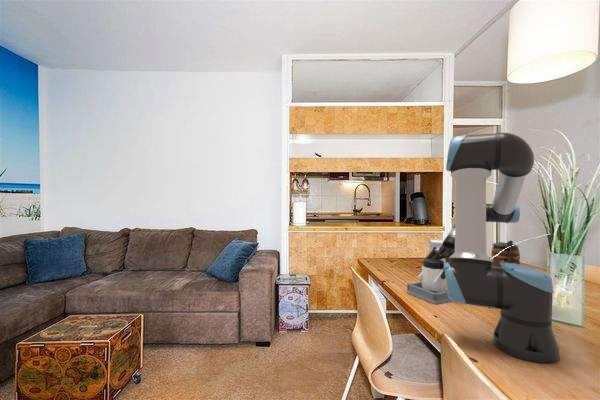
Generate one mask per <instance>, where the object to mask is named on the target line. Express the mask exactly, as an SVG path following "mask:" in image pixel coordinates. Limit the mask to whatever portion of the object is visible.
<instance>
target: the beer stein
mask: <svg viewBox="0 0 600 400" xmlns="http://www.w3.org/2000/svg"><path fill="white" fill-rule="evenodd" d="M491 245H492V249H491V254H490V255H491V258H492V257H493V256H495V255H496V254H498V253H499V252H500V251H502V250H503V249H505V248H507V247H509V246H511V247H509V248H507V249H505V250H504V251H502V252H501V253H500V254H499V255H498V256H496V257H494V258H493V259H491V258H490V259H491V260H492V267H494V268H501V266H502V264H503V263H514V264H520V263H521V262H520V261H521V260H520V259H521V255H520V250H519V246H518V245H517V244H514V241H513V240H508V241H507V242H502V241H500V242H494V243H492V244H491ZM512 245H514V246H512ZM520 265H521V264H520Z"/></svg>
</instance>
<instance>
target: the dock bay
mask: <svg viewBox="0 0 600 400" xmlns="http://www.w3.org/2000/svg"><path fill="white" fill-rule="evenodd" d="M406 285H407V286H406V287H407V288H406V289H407V290H406V291H407V294H408V295H411V296H413V297H416V298H418V299H421V300H423V301H426V302H429V303H430V304H433V305H440V304H444V303H445V304H446V303H449V302H452V301H451V300H450V299H449V297H448V293H447V290H445V289H444V290H442V291H439V292H436V291H429V290H426V289H424V288H423V287H422V281H416V282H412V283H411V282H410V283H407V284H406Z"/></svg>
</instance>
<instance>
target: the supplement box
mask: <svg viewBox="0 0 600 400" xmlns="http://www.w3.org/2000/svg"><path fill="white" fill-rule="evenodd" d="M443 241H444V240H440V239H429V253H428V255H429V254H430V252H431V251H432V250H433V248H434V247H436V248H440V247H441V246H442V245H443ZM439 255H440V254H439ZM440 256H441V255H440ZM440 260H442V261H444V264H445V262H446V258H443V259H440Z"/></svg>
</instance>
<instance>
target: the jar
mask: <svg viewBox="0 0 600 400" xmlns="http://www.w3.org/2000/svg"><path fill="white" fill-rule="evenodd" d="M422 261H423V263H422V266H421V270H422V271H421V272H422V281H421V282H422V287H423V288H424V289H426V290H429V291H436V292H439V291H442V290H444V291H445V285H446V278H445V279H443V280H442V282H441V283H440V285H439V286H437V285H436V284H435V283H434V281H435V279H436V278H437V276H438V275H439V273H440V272H441V270H444V269H443V268H444V261H442V260H438V259H425V258H424V259H423V260H422Z"/></svg>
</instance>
